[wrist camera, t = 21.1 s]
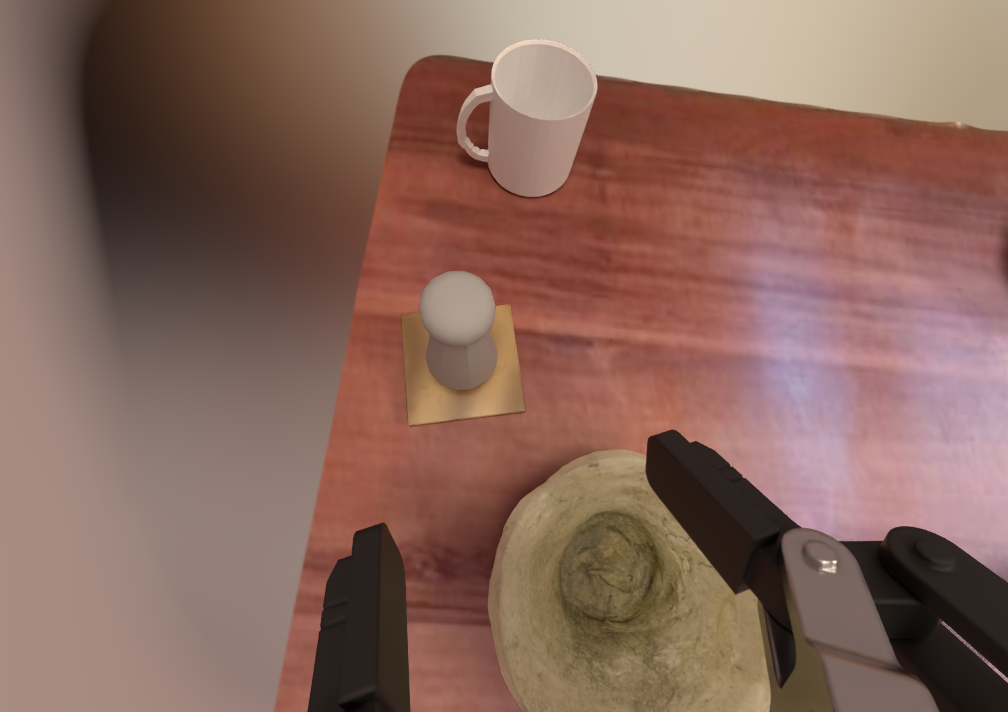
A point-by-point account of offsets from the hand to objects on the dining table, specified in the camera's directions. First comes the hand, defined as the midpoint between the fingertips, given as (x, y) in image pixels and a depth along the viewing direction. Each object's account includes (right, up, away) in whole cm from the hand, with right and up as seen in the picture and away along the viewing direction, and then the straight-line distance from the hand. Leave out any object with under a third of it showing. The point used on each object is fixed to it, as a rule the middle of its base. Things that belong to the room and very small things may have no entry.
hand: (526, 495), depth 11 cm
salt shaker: (-4, +3, +21) cm, 22 cm away
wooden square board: (-4, +3, +22) cm, 23 cm away
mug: (+1, +25, +29) cm, 39 cm away
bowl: (+7, -13, +19) cm, 24 cm away
